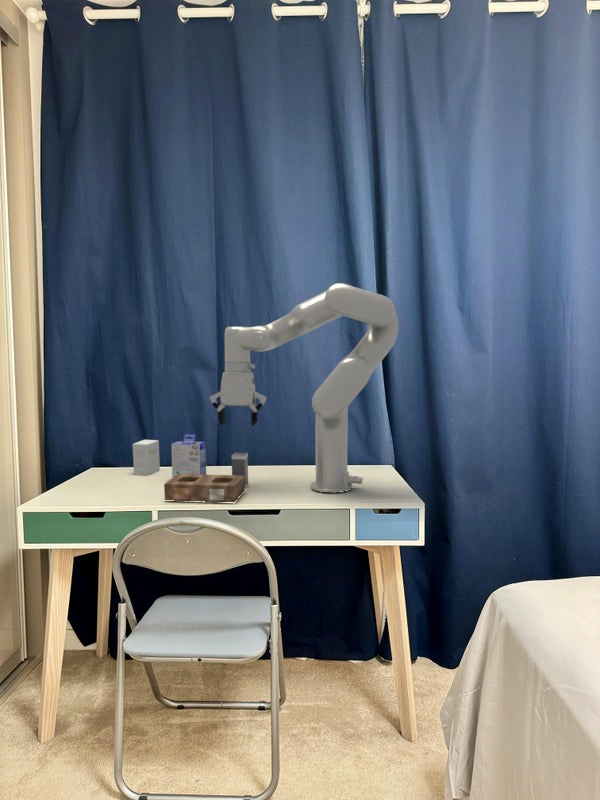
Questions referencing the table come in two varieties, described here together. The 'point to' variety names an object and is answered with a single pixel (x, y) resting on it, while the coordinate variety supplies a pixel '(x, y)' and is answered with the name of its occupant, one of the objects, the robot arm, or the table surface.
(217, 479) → the socket block
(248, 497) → the table surface
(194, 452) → the ink cartridge box
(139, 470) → the small box
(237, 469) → the plug
